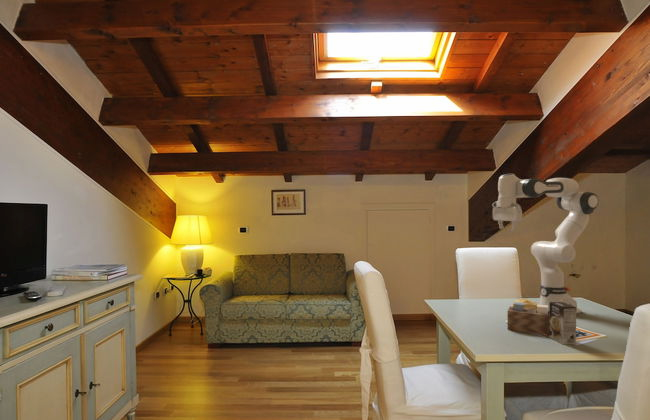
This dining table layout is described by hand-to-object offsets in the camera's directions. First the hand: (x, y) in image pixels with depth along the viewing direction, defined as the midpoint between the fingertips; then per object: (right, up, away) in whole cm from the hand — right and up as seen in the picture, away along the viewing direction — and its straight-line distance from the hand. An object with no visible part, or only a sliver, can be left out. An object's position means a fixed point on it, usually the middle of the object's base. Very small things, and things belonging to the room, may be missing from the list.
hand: (507, 229), depth 212 cm
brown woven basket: (0, -47, -24) cm, 53 cm away
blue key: (-4, -38, -22) cm, 44 cm away
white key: (+4, -38, -27) cm, 47 cm away
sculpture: (+6, -47, -6) cm, 48 cm away
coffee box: (+6, -47, -40) cm, 62 cm away
